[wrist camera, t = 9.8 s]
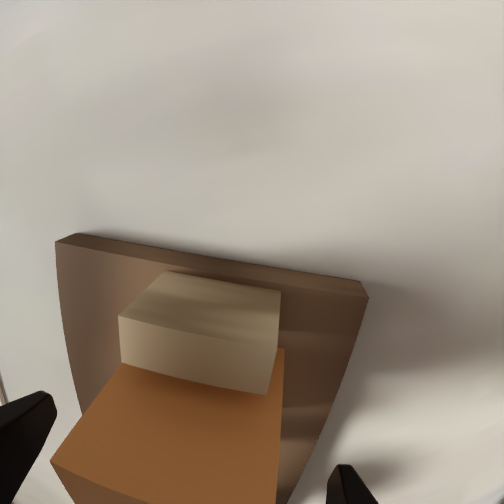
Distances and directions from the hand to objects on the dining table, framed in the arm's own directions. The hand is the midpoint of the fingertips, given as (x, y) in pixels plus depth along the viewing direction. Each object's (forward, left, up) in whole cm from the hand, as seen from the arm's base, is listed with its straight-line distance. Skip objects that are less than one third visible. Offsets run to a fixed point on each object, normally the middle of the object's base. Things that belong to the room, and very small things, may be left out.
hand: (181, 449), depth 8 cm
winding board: (+1, +10, -6) cm, 12 cm away
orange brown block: (0, 0, -4) cm, 4 cm away
